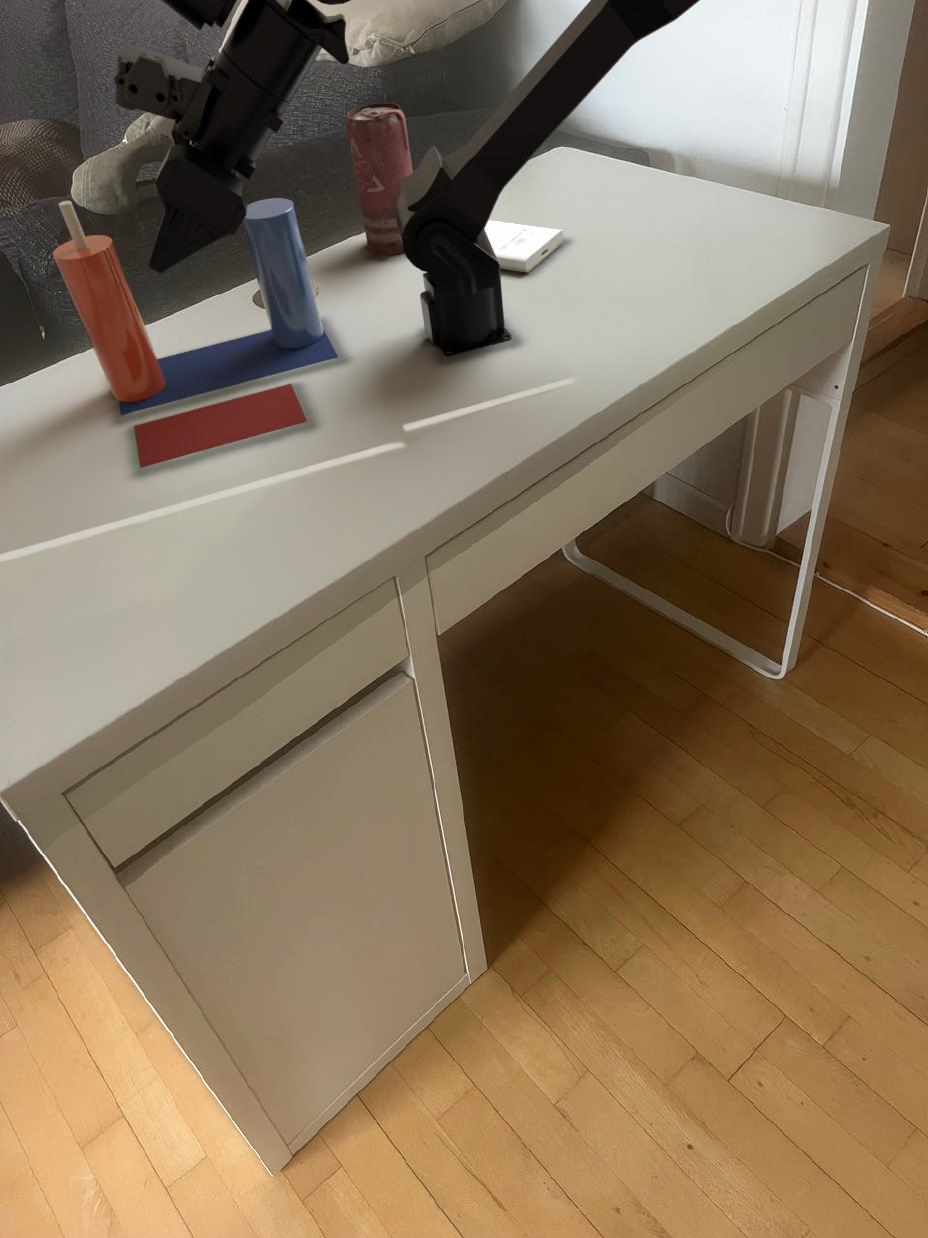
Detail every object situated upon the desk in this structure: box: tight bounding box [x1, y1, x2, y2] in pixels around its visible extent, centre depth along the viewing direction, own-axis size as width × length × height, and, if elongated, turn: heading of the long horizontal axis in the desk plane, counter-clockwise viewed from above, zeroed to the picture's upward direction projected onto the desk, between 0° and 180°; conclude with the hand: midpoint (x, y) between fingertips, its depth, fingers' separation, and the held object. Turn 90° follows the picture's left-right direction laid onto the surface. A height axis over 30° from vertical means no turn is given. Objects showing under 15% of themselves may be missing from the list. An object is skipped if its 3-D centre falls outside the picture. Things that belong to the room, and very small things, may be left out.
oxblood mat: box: [133, 383, 308, 468], centre depth 77 cm, size 14×7×1 cm, turn 109°
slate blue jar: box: [241, 197, 324, 348], centre depth 82 cm, size 5×5×12 cm
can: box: [345, 102, 414, 257], centre depth 96 cm, size 6×6×14 cm
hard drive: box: [485, 220, 564, 273], centre depth 97 cm, size 2×8×12 cm
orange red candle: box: [52, 200, 166, 402], centre depth 77 cm, size 5×5×16 cm
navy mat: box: [118, 328, 339, 416], centre depth 84 cm, size 20×9×1 cm, turn 109°
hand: (160, 246), depth 74 cm, fingers open, 9 cm apart
